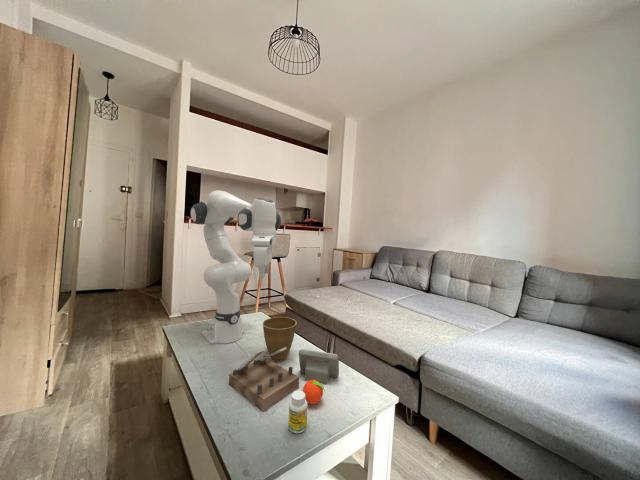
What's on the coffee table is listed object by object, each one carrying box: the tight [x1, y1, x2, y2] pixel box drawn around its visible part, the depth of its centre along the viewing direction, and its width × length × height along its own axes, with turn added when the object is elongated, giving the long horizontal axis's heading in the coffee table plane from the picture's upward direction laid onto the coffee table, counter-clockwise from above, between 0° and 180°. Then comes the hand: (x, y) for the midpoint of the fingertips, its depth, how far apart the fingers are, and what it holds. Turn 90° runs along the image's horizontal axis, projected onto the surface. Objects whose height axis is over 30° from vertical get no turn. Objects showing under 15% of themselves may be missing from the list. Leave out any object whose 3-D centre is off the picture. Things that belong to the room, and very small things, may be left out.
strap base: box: [228, 354, 300, 412], centre depth 89 cm, size 20×16×7 cm
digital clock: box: [298, 348, 340, 385], centre depth 96 cm, size 16×9×11 cm, turn 66°
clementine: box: [302, 380, 326, 405], centre depth 82 cm, size 8×7×7 cm
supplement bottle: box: [288, 390, 308, 434], centre depth 71 cm, size 5×5×10 cm
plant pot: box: [262, 316, 297, 363], centre depth 109 cm, size 15×15×16 cm
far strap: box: [257, 347, 287, 362], centre depth 93 cm, size 16×3×1 cm
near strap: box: [236, 348, 265, 373], centre depth 87 cm, size 16×3×1 cm
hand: (263, 275), depth 95 cm, fingers open, 8 cm apart
